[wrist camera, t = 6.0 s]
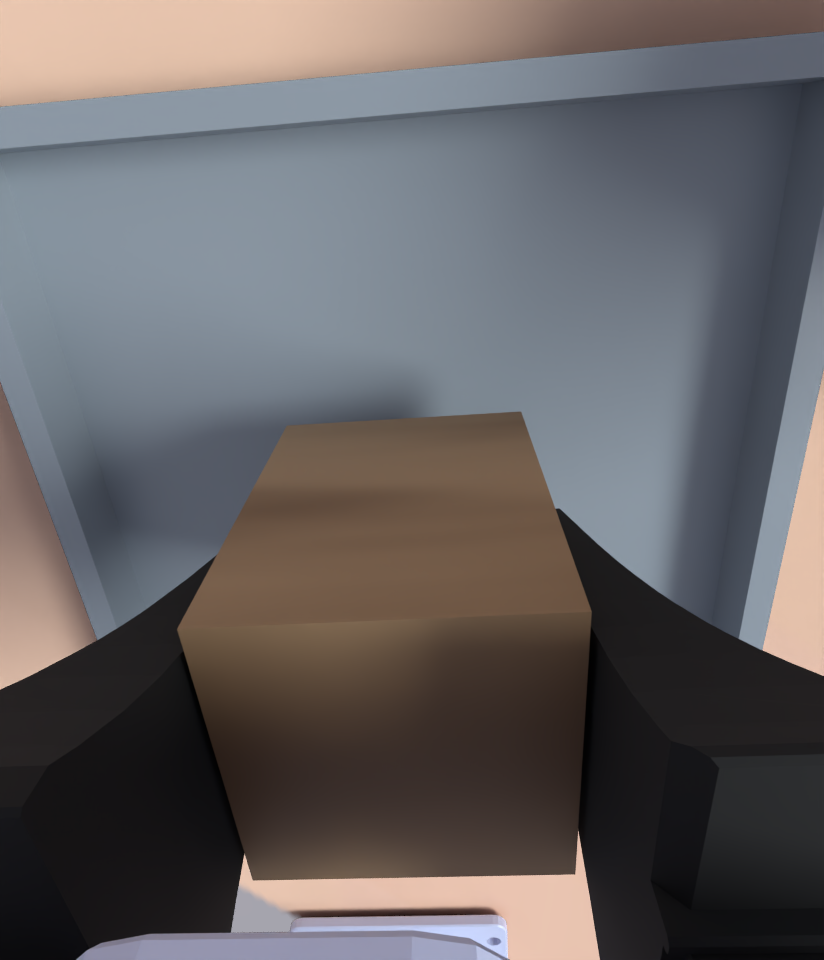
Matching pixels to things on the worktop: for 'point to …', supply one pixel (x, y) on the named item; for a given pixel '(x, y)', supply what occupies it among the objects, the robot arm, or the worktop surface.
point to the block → (397, 656)
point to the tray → (428, 298)
